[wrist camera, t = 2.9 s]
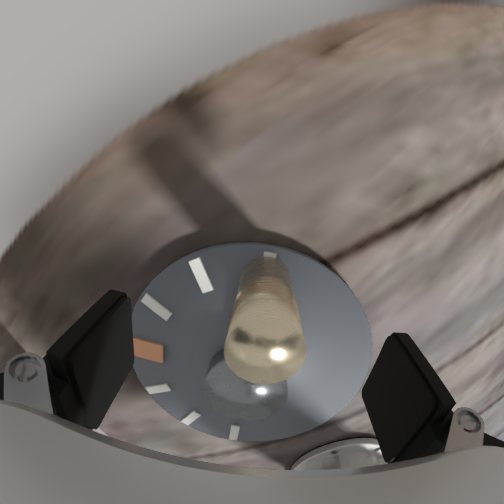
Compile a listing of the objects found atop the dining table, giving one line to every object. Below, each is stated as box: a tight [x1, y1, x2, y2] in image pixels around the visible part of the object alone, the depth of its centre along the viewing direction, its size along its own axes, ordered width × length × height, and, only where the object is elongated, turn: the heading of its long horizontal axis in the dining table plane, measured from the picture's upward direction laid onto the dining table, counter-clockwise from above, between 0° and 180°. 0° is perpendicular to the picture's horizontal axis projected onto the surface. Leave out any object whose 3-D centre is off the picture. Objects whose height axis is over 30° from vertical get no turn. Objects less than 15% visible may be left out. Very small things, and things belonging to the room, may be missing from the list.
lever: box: [203, 256, 307, 420], centre depth 16 cm, size 13×6×8 cm, turn 171°
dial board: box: [132, 241, 372, 442], centre depth 21 cm, size 20×20×1 cm
